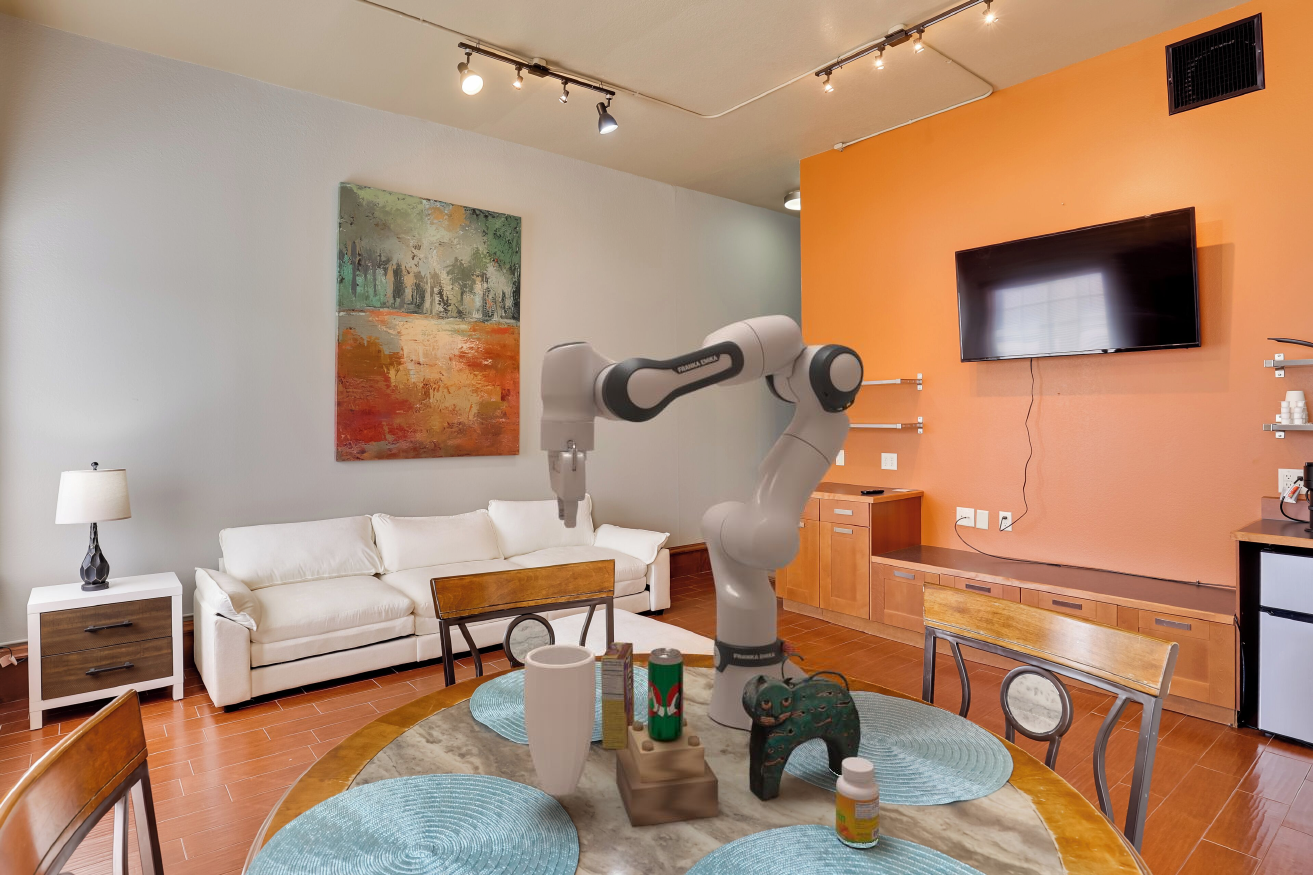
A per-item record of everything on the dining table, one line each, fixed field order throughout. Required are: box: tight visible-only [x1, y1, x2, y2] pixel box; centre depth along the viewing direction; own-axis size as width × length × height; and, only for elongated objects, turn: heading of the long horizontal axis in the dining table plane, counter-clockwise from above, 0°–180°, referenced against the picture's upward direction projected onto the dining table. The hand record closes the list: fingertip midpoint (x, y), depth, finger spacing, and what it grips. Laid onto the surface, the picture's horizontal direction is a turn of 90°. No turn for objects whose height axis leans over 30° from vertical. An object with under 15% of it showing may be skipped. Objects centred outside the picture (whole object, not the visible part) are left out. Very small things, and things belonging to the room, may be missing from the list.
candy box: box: [600, 641, 636, 750], centre depth 122 cm, size 9×4×15 cm, turn 172°
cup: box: [523, 643, 597, 796], centre depth 99 cm, size 10×10×22 cm
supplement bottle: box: [835, 756, 880, 844], centre depth 92 cm, size 5×5×10 cm
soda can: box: [647, 647, 684, 742], centre depth 102 cm, size 5×5×12 cm
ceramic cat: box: [742, 652, 862, 802], centre depth 107 cm, size 20×6×20 cm, turn 115°
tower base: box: [615, 716, 719, 828], centre depth 102 cm, size 12×12×10 cm
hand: (566, 523), depth 118 cm, fingers open, 8 cm apart
